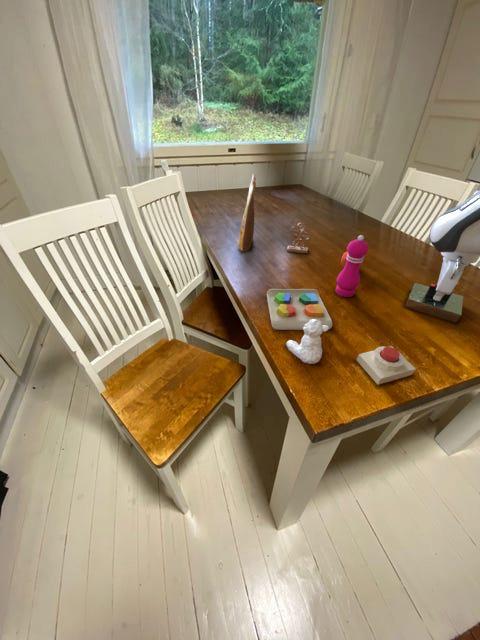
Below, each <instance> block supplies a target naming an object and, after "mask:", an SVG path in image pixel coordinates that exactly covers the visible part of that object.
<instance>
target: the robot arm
mask: <svg viewBox="0 0 480 640" xmlns="http://www.w3.org/2000/svg"><path fill="white" fill-rule="evenodd" d="M428 238H429V241H430V243H431V245H432V246H433V247H434V249H435V250H436V251H437V252H439V253H440V255H441V256H442V264H441V268H440V272H439V277H438V280H437V282H436V285H437V288H436V291H437V292H436V294H435V295H434V298H433V299H434V300H436V301H440V300H441V298H442V297H443V296H444V295H445V294H447V295H449V294H451V293H452V291H453V292H454V289H456V286H457V284H458V282H459V281H460V278H461V277H462V275H463V273H464V270H465V267H468V266H469V265H470V264H475V263H477V262H478V260H479V259H480V189H478V190H476V191H474V193H473V194H472V195H471V196H470V197H468V198H467V199H465V200H464V201H463V202H461V203H460V204H458V205H456V206H454V207H451V208H450V209H448V210H446V211H444V212H443V213H442V214H440V215H439V216H438V217H437V218H436V219H435V220H434V222H433V223H432V225H431V228H430V231H429V235H428Z"/></svg>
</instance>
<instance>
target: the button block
mask: <svg viewBox="0 0 480 640" xmlns="http://www.w3.org/2000/svg"><path fill="white" fill-rule="evenodd" d="M385 347H386V346H385V345H384V346H383V345H382V346H379V347H376V348H375V350H370V351H366V352H362V353H359V354H358V355H357V358H356V362H357V363H358V364H359V365H360V366H361V367H362V369H364V371H365V372H366V373H367V374H368V375H369V376H370V378H371V379H372V380H373V381H374V382H375V384H376V385H378V386H379V385H383V384H386V383H389V382H393V381H396V380H399V379H402V378H406V377H410V376H412V375H413V374H414V373H415V371H416V370H417V368H416V367H415V366H414V365H413V364H412V363H410V362H409V360H407V359H406V358H405V357H404V355H403V354H402V353H401V352H400V351H399V350H397V351H398V352H399V353H400V356H399V358H398V360H397V361H396V362H394V363H391V362H387V361H385V360H384V359H383V358H382V357H381V353H382V351H383V349H384V348H385ZM389 347H392V348H394V347H393V346H392V345H390V346H389Z"/></svg>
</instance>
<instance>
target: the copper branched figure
mask: <svg viewBox="0 0 480 640" xmlns="http://www.w3.org/2000/svg"><path fill="white" fill-rule="evenodd" d="M300 224H301V225H300ZM305 229H306V224H305V223H304V222H298V223H297V224H296V226H293V225H292V226H290V232H291V235H293V236H295V238H294V240H293V242H292V243H291V244H290V245H287V248H286V252H291V253H292V252H293V253H301V254H308V253H309V248H308V247H307V246H306V245H305V243H304V240H305V241H308V240H309V239H310V234H309V233H308V231H305ZM293 231H295V232H296V233H294V232H293ZM303 233H306V234H307V235H304V234H303ZM297 234H298V235H297ZM301 234H302V237H301ZM297 236H298V237H297ZM296 240H297V241H298V242H296ZM300 241H301V242H302V244H303V245H301V243H300ZM295 242H296V244H294V243H295Z"/></svg>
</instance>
